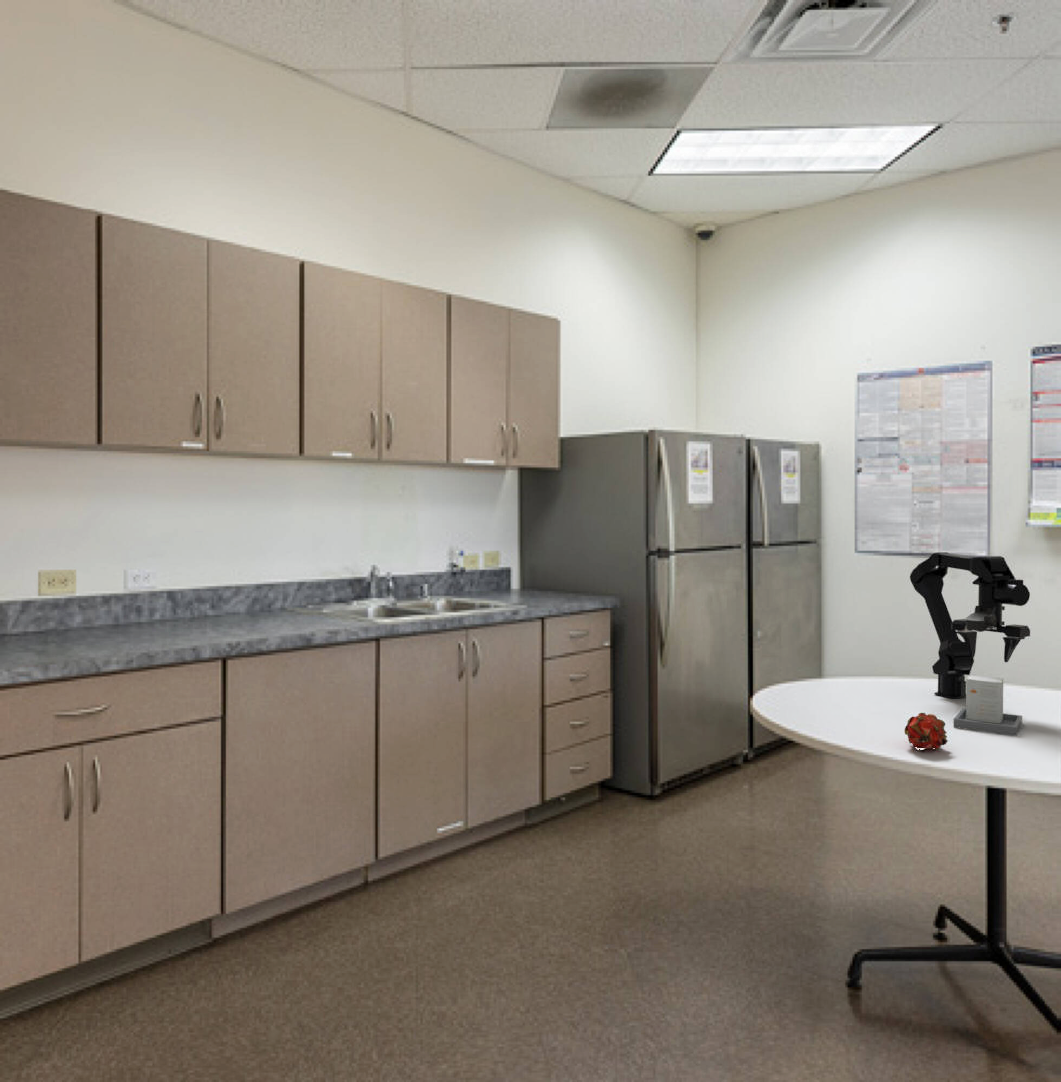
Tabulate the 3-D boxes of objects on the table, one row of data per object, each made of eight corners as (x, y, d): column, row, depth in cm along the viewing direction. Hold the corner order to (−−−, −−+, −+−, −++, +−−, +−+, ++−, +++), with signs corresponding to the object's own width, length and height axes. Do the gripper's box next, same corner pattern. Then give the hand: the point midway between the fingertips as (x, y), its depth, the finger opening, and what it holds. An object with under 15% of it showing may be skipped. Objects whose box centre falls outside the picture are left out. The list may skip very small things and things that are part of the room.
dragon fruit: (930, 748, 198) (927, 769, 188) (898, 724, 201) (893, 744, 190) (955, 723, 195) (953, 743, 184) (922, 698, 197) (918, 717, 187)
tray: (953, 726, 211) (953, 718, 211) (962, 715, 222) (962, 708, 222) (1016, 735, 204) (1016, 727, 203) (1022, 723, 215) (1022, 715, 215)
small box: (1003, 719, 216) (1004, 678, 216) (1001, 724, 212) (1002, 682, 211) (967, 715, 221) (968, 674, 220) (965, 719, 216) (966, 678, 215)
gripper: (940, 600, 235) (939, 657, 235) (1009, 606, 219) (1007, 667, 219) (963, 599, 241) (962, 654, 241) (1031, 604, 225) (1030, 663, 225)
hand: (989, 659), depth 231 cm, fingers open, 9 cm apart
